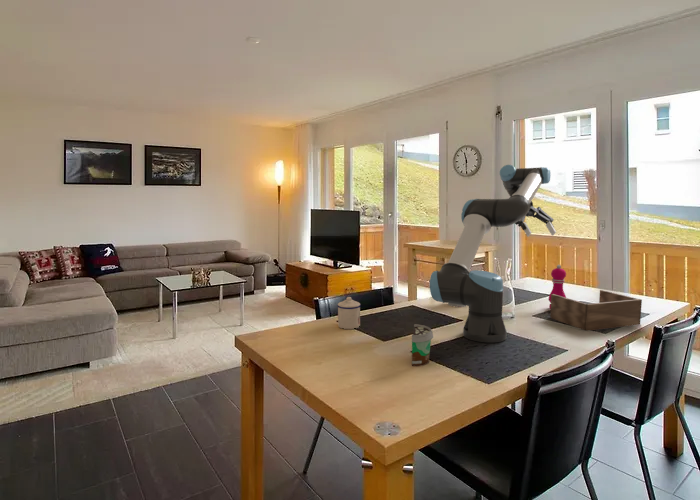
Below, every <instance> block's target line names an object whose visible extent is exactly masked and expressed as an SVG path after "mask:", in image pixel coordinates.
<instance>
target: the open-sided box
mask: <svg viewBox="0 0 700 500" xmlns="http://www.w3.org/2000/svg"><path fill="white" fill-rule="evenodd" d="M550 304H551V309H549V310H550V313H549V314H550V316H549V318H550V319H552V320H556V321H557V322H561V323H564V324H567V325H569V326H572V327H575V328H577V329H579V330H583V331H585V332H587V331H595V330H605V329H613V328H623V327H630V326H631V327H632V326H640V325H641V319H642V304H643V300H642V299H641V298H636V297H633V296H628V295H625V294H620V293H617V292H612V291H608V290H604V289H600V290H599V300H598V302H594V303H585V302H583V301H578V300H575V299H573V298H568V297H566V298H565V297H562V296H558V295H555V294H551V303H550Z"/></svg>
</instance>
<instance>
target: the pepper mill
mask: <svg viewBox="0 0 700 500" xmlns="http://www.w3.org/2000/svg"><path fill="white" fill-rule="evenodd" d="M550 275H551V277H552V279H551V282H552V285H553V286H552V290H551V292H550V293H549V295H548V301H549V308H548V309H549V310H551V294H555V295H558V296H562V297H565V298H567V296H566V293H565V292H564V291H565V290H564V284H565V279H566V277H567V273H566V270H565V269H564V268H562V265H560V264H557V266H556V268H553V269H552V270H551V272H550Z"/></svg>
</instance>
